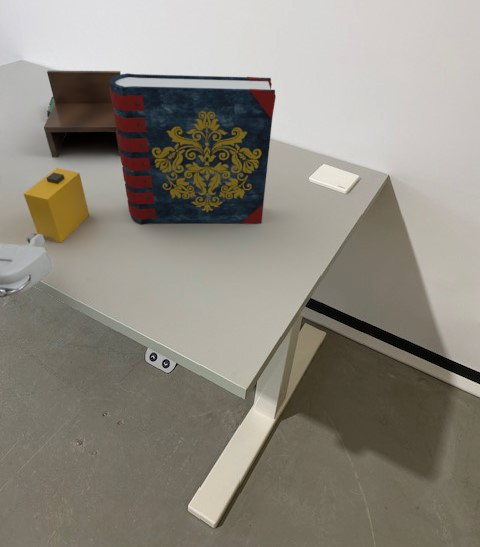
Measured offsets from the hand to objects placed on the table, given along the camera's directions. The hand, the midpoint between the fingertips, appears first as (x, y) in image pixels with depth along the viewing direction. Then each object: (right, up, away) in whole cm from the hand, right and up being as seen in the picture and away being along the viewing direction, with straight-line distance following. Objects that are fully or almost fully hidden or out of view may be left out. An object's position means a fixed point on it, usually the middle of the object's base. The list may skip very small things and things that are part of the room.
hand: (13, 235), depth 65 cm
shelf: (0, +26, +36) cm, 44 cm away
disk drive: (-7, +37, +47) cm, 60 cm away
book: (+27, +5, +17) cm, 32 cm away
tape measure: (+3, +3, +12) cm, 13 cm away
